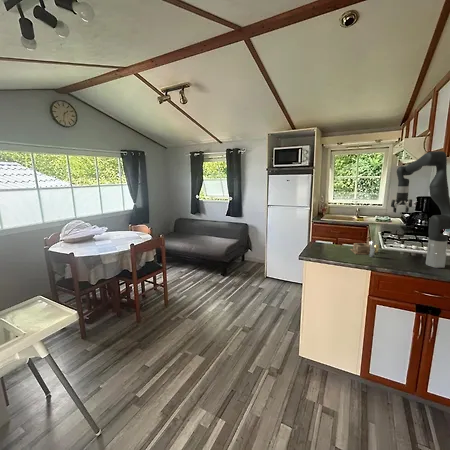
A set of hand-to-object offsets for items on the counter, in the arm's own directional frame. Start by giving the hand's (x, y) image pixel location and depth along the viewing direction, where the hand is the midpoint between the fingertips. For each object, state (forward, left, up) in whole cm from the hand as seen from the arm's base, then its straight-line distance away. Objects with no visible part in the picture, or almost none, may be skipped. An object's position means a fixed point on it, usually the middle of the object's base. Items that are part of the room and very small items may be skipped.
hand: (400, 212), depth 202 cm
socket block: (-17, +34, -28) cm, 47 cm away
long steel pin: (-28, +31, -28) cm, 50 cm away
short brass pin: (-17, +24, -28) cm, 41 cm away
